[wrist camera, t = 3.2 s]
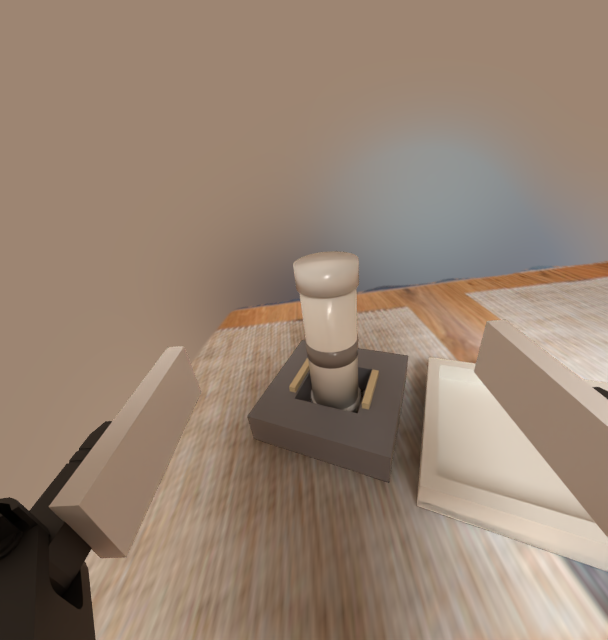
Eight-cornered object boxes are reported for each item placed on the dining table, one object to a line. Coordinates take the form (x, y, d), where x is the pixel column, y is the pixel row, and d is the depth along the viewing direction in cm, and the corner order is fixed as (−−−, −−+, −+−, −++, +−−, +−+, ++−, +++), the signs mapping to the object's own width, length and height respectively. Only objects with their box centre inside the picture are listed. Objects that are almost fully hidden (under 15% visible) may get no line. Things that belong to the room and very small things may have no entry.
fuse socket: (304, 359, 35) (301, 335, 33) (406, 377, 30) (408, 351, 28) (254, 438, 26) (245, 411, 24) (388, 482, 21) (391, 452, 19)
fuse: (322, 385, 31) (307, 251, 23) (365, 394, 29) (365, 251, 21) (305, 418, 27) (281, 271, 20) (353, 431, 25) (348, 274, 18)
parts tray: (426, 375, 30) (429, 356, 29) (597, 404, 25) (610, 383, 23) (416, 505, 19) (419, 485, 18) (718, 609, 14) (753, 590, 13)
